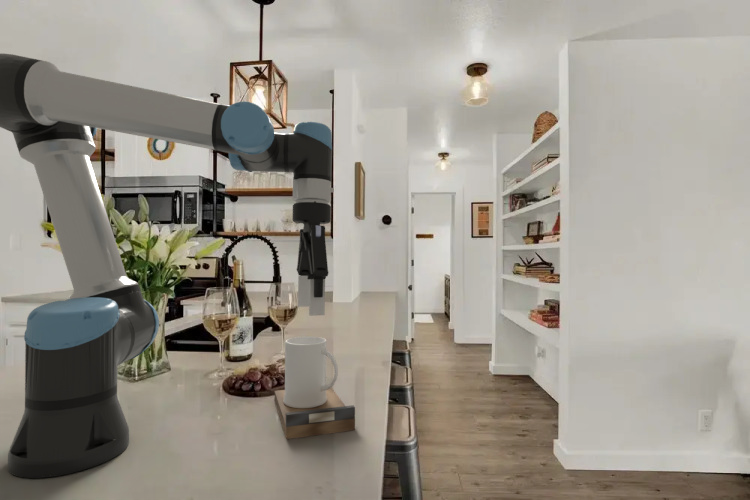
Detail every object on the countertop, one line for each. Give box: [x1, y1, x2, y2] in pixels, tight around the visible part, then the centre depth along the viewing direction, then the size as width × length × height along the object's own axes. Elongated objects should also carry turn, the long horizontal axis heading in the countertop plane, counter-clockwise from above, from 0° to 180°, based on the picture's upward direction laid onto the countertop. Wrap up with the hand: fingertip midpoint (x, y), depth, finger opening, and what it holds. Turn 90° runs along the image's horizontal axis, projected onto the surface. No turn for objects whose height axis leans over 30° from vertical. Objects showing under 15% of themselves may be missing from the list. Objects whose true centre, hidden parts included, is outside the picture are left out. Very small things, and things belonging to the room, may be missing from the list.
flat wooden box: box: [274, 387, 356, 440], centre depth 82 cm, size 12×20×4 cm, turn 19°
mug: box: [283, 335, 339, 408], centre depth 83 cm, size 12×8×12 cm
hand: (310, 310), depth 84 cm, fingers open, 13 cm apart
